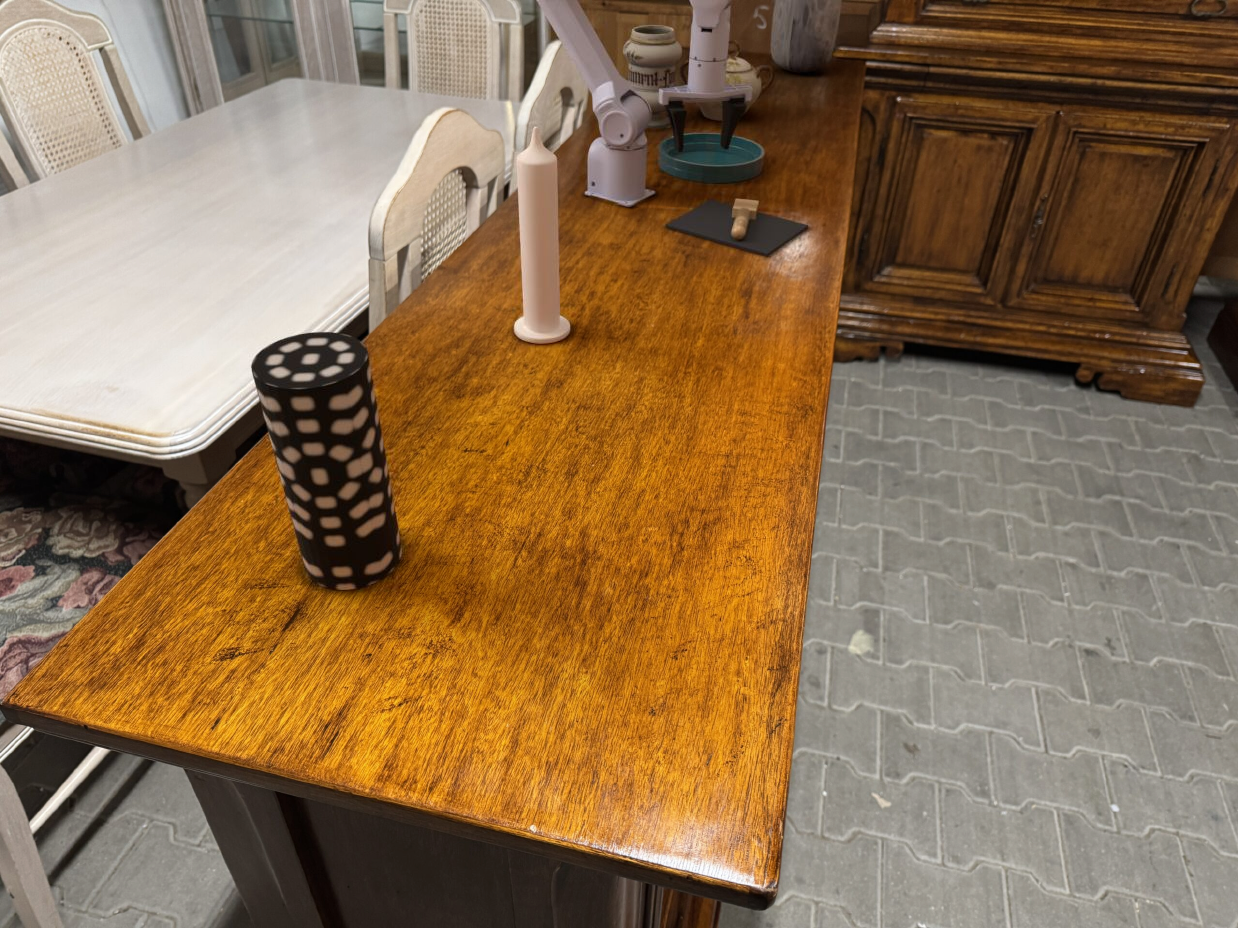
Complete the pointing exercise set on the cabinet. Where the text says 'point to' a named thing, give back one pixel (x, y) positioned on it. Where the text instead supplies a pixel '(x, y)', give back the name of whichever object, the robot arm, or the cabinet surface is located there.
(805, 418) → the cabinet surface
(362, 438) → the white-spotted black cylinder
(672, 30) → the apothecary jar
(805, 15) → the vase
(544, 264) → the candle
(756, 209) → the wooden handle
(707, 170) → the bowl
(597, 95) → the robot arm
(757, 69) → the sugar bowl
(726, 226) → the mat
